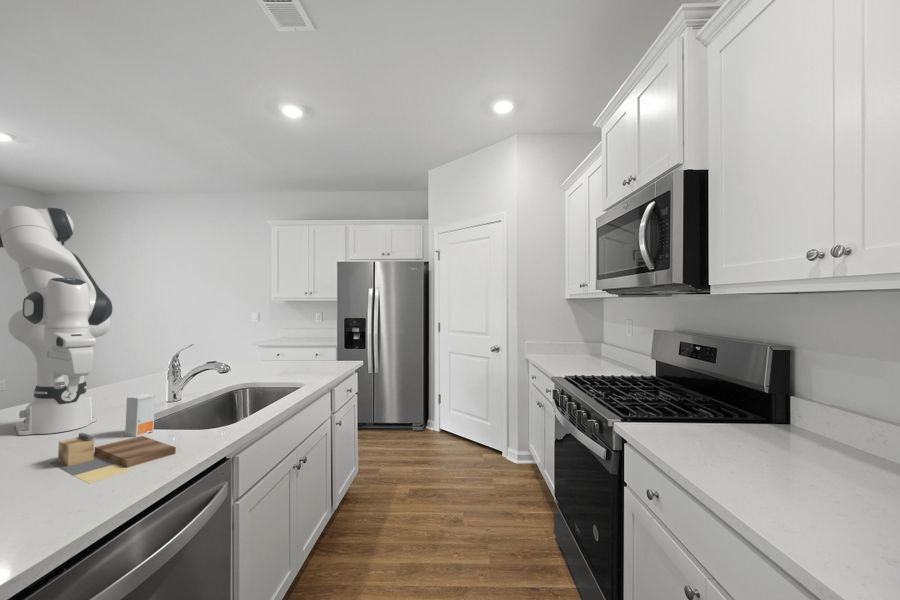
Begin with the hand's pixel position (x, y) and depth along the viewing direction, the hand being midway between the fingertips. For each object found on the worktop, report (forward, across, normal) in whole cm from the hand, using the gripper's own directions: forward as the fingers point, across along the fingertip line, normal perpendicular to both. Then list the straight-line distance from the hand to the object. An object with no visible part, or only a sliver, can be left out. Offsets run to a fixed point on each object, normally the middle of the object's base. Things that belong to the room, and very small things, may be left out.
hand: (65, 390), depth 106 cm
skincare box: (+18, -3, +19) cm, 26 cm away
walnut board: (+18, +15, +10) cm, 25 cm away
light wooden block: (+17, +8, 0) cm, 19 cm away
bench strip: (+17, +15, 0) cm, 23 cm away
